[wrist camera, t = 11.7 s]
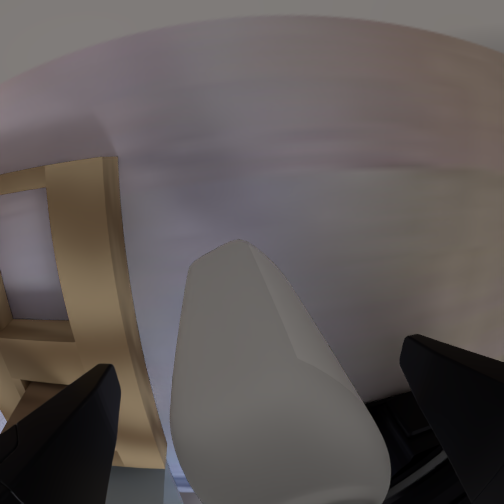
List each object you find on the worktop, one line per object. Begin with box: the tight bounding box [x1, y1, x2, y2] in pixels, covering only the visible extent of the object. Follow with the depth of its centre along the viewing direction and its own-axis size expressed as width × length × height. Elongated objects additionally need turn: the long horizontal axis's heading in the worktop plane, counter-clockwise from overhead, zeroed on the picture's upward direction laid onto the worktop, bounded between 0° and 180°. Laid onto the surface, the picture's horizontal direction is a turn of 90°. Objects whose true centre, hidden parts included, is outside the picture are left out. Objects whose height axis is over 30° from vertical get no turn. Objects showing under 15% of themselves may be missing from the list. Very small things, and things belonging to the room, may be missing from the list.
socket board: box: [0, 157, 167, 469], centre depth 16 cm, size 20×12×2 cm, turn 1°
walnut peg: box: [1, 381, 68, 433], centre depth 15 cm, size 5×4×7 cm
